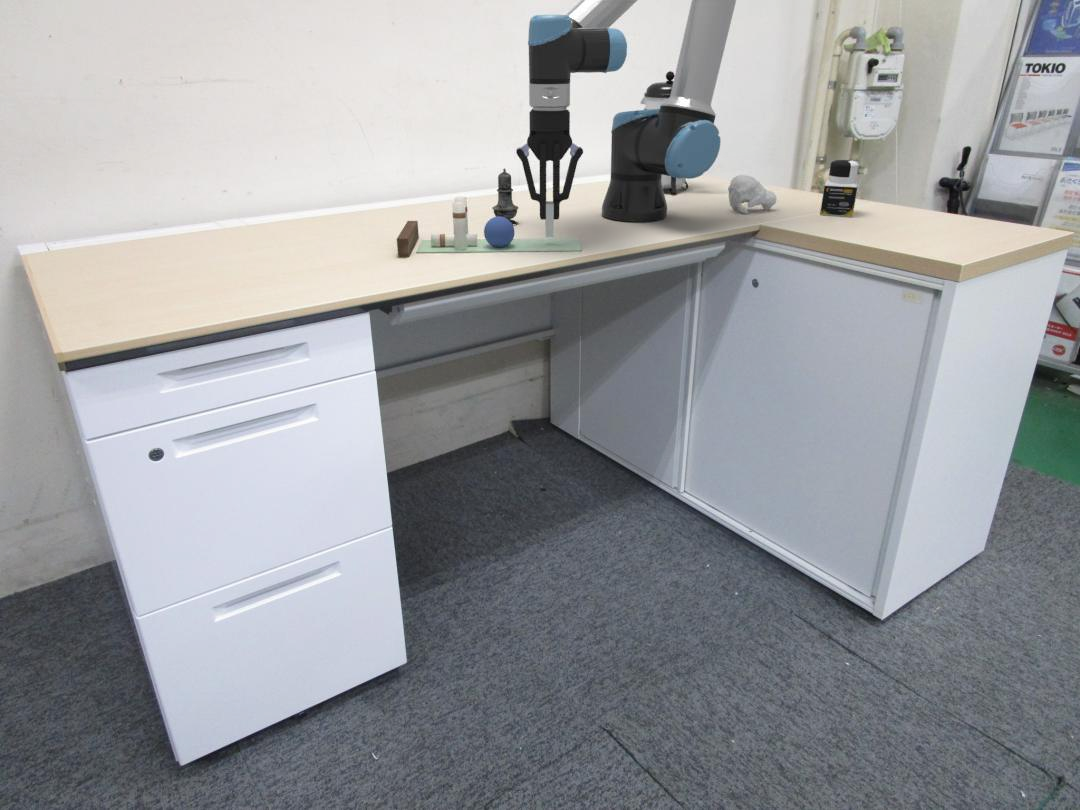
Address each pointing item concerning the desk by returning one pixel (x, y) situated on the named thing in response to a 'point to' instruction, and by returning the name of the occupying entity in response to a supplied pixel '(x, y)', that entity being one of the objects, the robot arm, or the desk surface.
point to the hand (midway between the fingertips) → (549, 235)
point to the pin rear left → (459, 225)
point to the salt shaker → (505, 198)
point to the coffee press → (653, 100)
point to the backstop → (407, 239)
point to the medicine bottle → (840, 189)
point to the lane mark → (508, 246)
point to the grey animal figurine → (749, 194)
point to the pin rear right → (464, 199)
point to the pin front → (451, 240)
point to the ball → (499, 232)
